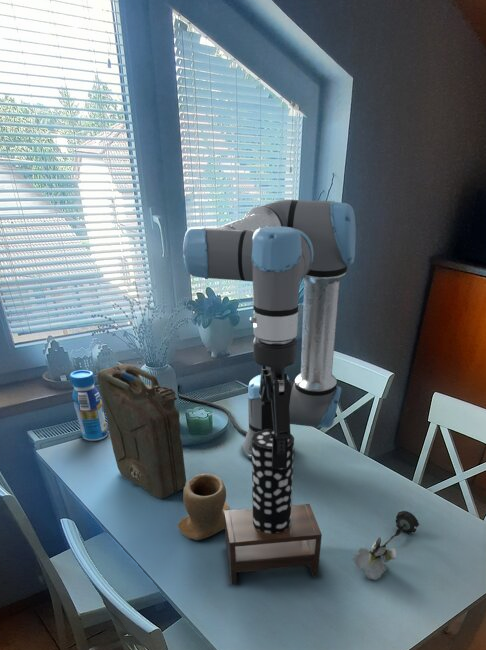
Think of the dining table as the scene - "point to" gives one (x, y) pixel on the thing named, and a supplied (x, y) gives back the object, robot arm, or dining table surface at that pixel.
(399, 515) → the artificial flower
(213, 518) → the stone cup
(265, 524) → the spotted tube
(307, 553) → the rack
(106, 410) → the container
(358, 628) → the dining table surface
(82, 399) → the beverage bottle
